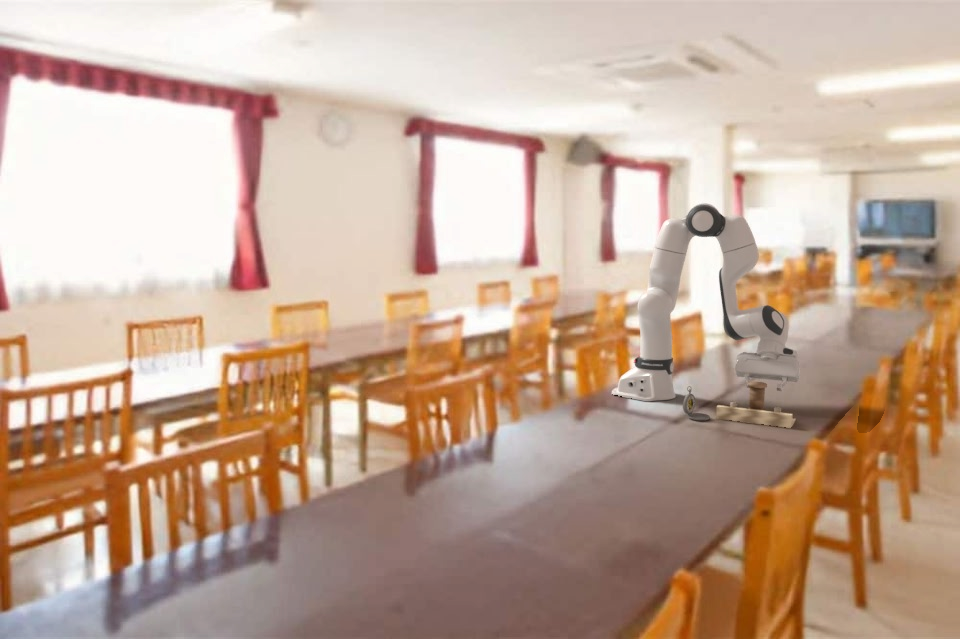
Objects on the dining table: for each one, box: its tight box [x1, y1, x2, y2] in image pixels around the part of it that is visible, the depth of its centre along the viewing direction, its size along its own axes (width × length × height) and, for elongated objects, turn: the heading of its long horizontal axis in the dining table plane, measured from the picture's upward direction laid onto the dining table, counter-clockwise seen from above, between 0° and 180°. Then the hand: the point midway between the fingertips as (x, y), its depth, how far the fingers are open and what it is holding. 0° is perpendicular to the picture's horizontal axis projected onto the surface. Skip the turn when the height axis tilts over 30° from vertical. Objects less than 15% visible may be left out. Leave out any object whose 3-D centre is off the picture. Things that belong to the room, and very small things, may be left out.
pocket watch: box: [682, 385, 711, 422], centre depth 225 cm, size 8×8×10 cm
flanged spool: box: [748, 381, 768, 411], centre depth 223 cm, size 7×7×11 cm
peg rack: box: [715, 401, 797, 429], centre depth 222 cm, size 22×10×5 cm, turn 59°
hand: (763, 388), depth 232 cm, fingers open, 8 cm apart
